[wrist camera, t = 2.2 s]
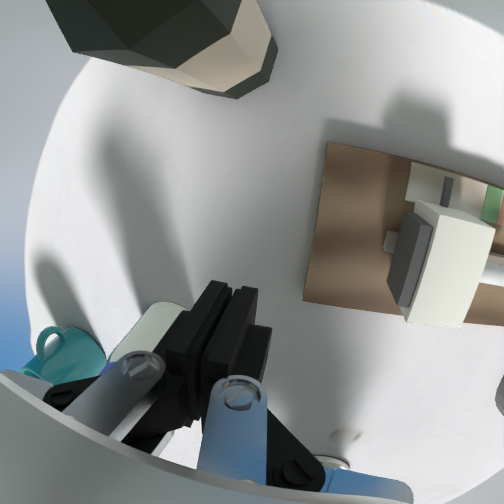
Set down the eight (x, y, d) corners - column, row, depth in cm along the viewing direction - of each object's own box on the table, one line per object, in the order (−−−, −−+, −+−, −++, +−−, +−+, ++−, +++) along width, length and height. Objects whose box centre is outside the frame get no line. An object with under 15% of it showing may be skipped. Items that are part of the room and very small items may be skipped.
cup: (92, 313, 36) (41, 360, 26) (115, 377, 40) (77, 426, 30) (52, 303, 38) (3, 342, 28) (75, 364, 42) (37, 404, 32)
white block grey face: (486, 304, 22) (509, 332, 17) (381, 289, 24) (394, 321, 19) (518, 200, 18) (551, 215, 14) (409, 166, 20) (434, 173, 15)
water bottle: (152, 283, 32) (-10, 451, 9) (217, 325, 32) (104, 536, 9) (132, 329, 35) (10, 475, 12) (189, 366, 36) (95, 535, 13)
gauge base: (534, 320, 24) (570, 366, 15) (303, 290, 29) (296, 357, 20) (569, 217, 19) (620, 245, 10) (327, 142, 24) (336, 141, 14)
